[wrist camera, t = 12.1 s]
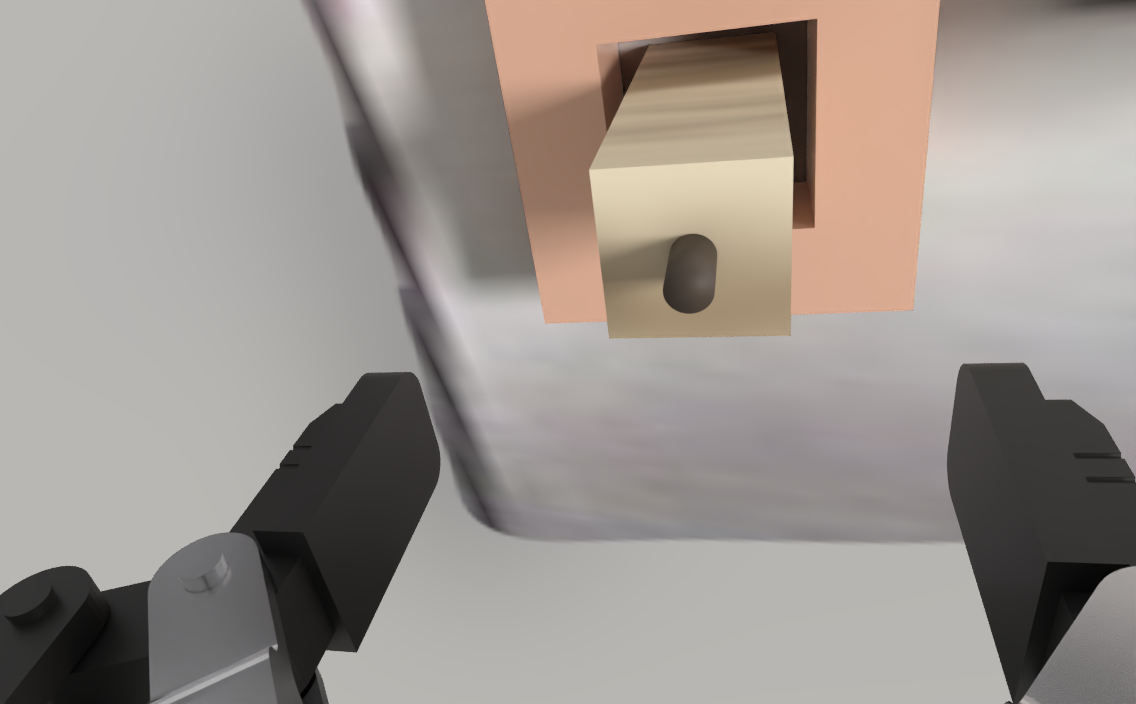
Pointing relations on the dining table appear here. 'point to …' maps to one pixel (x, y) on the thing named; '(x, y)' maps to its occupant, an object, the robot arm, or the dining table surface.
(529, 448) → the dining table surface
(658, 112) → the birch peg
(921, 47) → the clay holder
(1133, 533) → the robot arm
